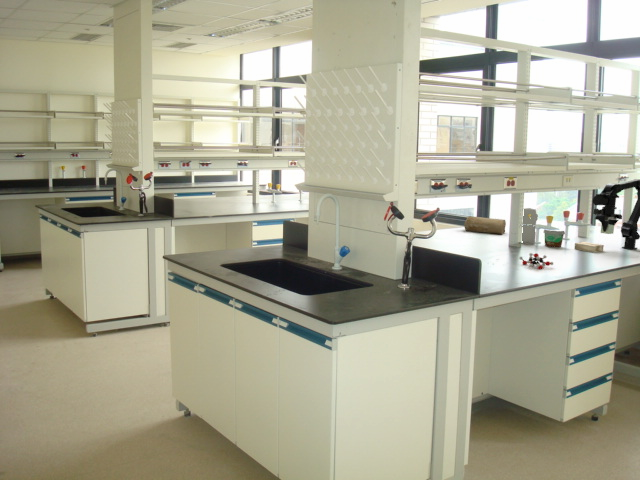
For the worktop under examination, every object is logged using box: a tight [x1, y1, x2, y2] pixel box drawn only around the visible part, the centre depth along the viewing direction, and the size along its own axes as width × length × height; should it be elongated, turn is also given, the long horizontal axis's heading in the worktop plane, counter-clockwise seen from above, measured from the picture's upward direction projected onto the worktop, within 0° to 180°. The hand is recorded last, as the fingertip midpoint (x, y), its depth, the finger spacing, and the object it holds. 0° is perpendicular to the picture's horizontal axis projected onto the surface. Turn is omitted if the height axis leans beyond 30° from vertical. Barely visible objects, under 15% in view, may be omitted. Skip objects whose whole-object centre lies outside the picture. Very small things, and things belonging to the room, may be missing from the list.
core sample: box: [463, 215, 507, 235], centre depth 421 cm, size 14×26×10 cm, turn 60°
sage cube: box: [600, 224, 615, 235], centre depth 362 cm, size 5×5×5 cm
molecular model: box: [519, 252, 554, 270], centre depth 307 cm, size 10×12×15 cm
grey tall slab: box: [522, 207, 539, 245], centre depth 376 cm, size 11×4×22 cm, turn 61°
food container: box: [543, 229, 566, 248], centre depth 367 cm, size 12×6×10 cm, turn 62°
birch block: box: [574, 241, 605, 253], centre depth 360 cm, size 10×12×4 cm
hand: (607, 231), depth 362 cm, fingers closed on sage cube, 5 cm apart
